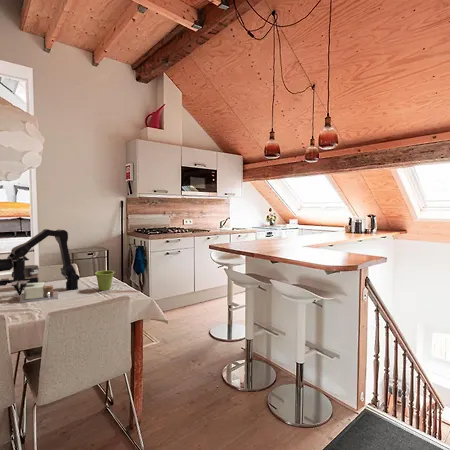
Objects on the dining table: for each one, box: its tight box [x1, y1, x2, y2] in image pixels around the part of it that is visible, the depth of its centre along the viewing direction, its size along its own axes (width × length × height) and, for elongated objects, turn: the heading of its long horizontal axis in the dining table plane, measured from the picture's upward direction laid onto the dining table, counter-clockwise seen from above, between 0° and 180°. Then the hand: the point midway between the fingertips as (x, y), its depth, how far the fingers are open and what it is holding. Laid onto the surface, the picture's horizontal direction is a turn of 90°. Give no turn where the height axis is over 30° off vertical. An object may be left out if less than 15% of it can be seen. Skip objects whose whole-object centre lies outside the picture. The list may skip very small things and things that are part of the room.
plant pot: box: [95, 270, 115, 291], centre depth 200 cm, size 12×12×11 cm
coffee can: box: [21, 264, 40, 289], centre depth 201 cm, size 10×10×14 cm
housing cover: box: [23, 281, 45, 299], centre depth 179 cm, size 9×13×6 cm
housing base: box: [18, 290, 59, 304], centre depth 181 cm, size 19×13×4 cm
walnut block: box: [43, 284, 54, 296], centre depth 183 cm, size 4×4×5 cm
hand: (19, 295), depth 176 cm, fingers closed
